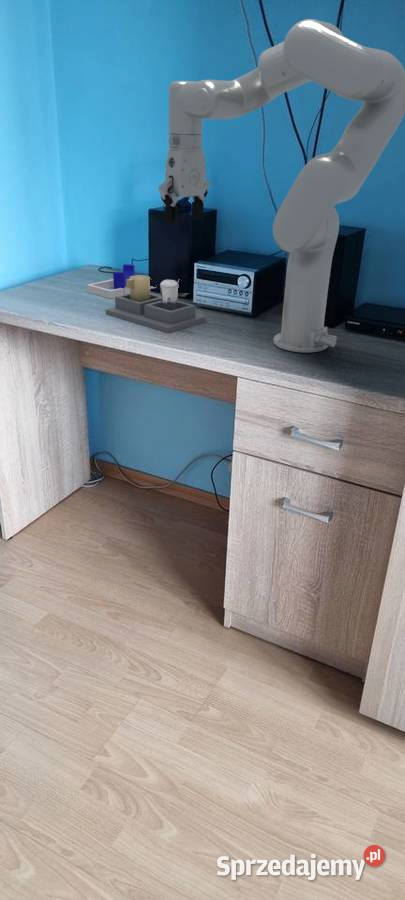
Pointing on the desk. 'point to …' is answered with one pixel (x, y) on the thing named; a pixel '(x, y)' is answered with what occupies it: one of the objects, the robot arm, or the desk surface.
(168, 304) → the milkshake
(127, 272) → the blue stepped block
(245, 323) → the desk surface
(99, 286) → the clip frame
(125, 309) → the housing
